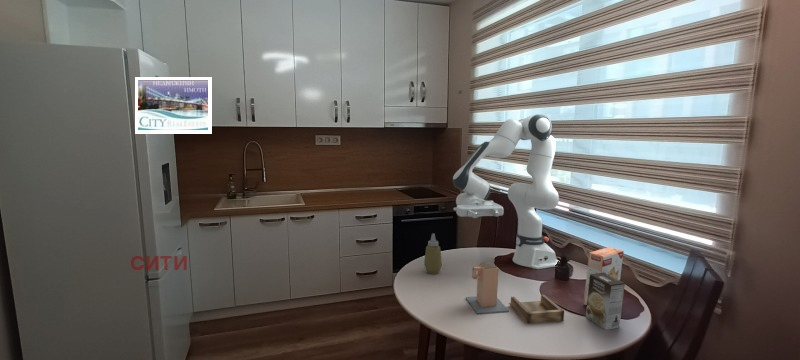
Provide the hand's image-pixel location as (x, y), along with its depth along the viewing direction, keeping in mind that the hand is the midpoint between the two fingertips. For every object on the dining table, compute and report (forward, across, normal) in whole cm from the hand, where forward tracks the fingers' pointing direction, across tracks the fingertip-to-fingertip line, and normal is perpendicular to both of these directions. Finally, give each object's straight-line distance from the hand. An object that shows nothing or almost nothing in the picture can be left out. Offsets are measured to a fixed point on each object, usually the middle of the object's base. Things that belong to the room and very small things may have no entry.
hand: (486, 214), depth 151 cm
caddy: (+25, +10, +30) cm, 40 cm away
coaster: (+18, -6, +30) cm, 36 cm away
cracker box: (+23, +38, +30) cm, 54 cm away
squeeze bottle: (-15, -18, +30) cm, 38 cm away
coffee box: (+35, +29, +30) cm, 55 cm away
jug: (+18, -7, +30) cm, 35 cm away
